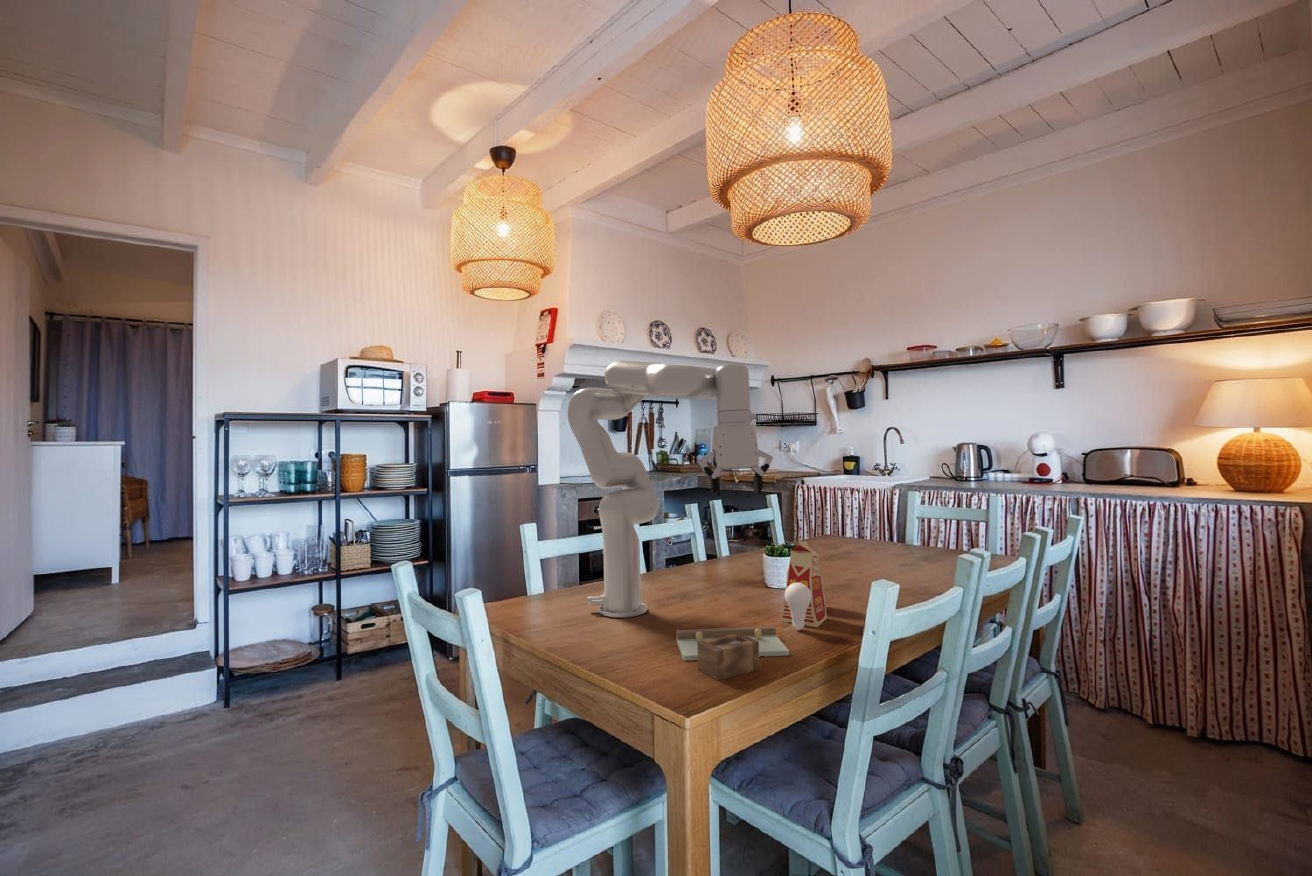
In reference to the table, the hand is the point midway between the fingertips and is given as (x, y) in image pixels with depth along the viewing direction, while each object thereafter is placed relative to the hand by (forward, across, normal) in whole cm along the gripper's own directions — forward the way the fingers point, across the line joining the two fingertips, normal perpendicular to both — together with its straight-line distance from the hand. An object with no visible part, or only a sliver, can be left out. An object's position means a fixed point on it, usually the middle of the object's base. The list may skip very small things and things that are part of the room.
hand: (737, 494), depth 141 cm
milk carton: (+32, -19, -9) cm, 39 cm away
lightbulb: (+33, -14, -2) cm, 35 cm away
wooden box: (+32, +9, +18) cm, 38 cm away
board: (+32, +5, +6) cm, 33 cm away
